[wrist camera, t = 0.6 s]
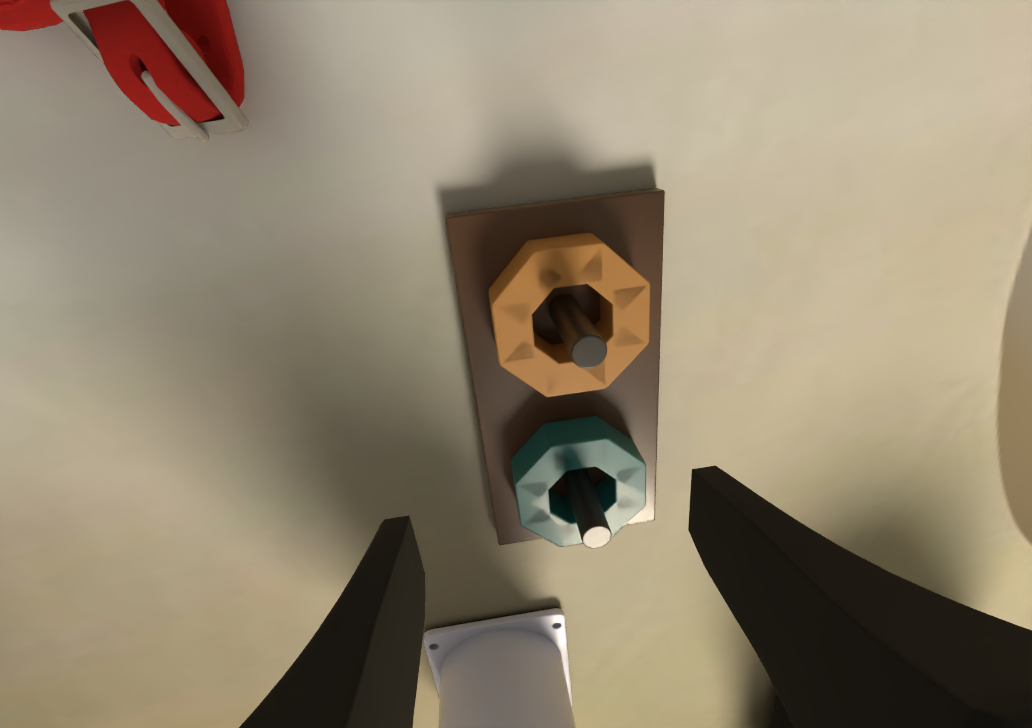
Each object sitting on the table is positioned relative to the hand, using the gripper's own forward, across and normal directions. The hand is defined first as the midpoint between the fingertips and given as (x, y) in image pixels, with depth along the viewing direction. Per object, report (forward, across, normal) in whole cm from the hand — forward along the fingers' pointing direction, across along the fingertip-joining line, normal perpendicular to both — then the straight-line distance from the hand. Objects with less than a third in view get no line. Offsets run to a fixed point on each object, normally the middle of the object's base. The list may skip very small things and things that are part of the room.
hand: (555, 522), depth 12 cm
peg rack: (+10, -2, +2) cm, 10 cm away
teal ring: (+9, -2, +6) cm, 11 cm away
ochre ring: (+9, -2, -2) cm, 9 cm away
